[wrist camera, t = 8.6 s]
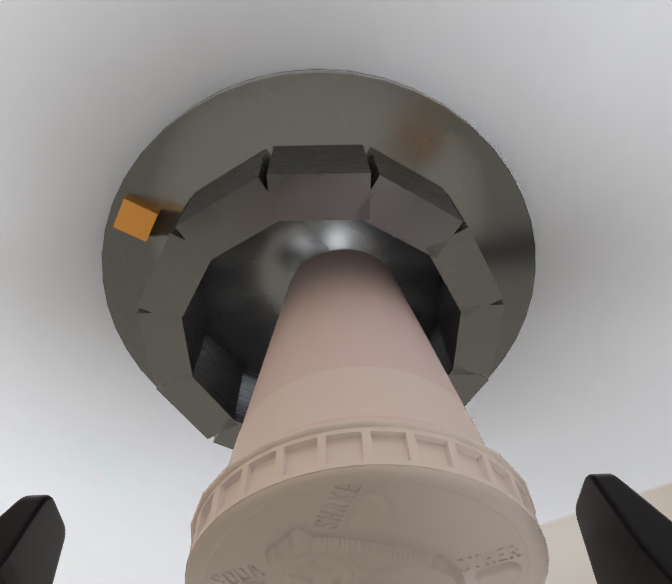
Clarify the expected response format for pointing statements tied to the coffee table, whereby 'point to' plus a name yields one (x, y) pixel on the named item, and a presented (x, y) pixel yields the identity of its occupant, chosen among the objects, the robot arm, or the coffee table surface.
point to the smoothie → (360, 456)
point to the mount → (309, 231)
